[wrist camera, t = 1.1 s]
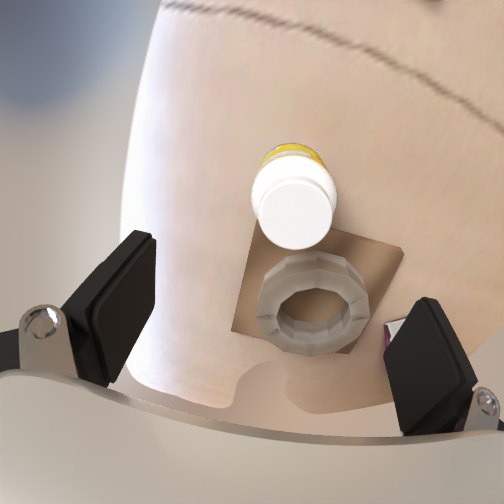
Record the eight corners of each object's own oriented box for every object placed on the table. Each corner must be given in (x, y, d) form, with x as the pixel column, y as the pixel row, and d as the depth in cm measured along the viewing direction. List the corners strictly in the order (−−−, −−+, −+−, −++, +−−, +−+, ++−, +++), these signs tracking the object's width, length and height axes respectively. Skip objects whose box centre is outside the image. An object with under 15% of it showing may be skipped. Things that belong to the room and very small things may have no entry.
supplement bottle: (325, 202, 25) (342, 261, 16) (262, 203, 26) (247, 262, 17) (324, 140, 22) (346, 167, 14) (257, 142, 23) (238, 170, 15)
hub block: (400, 247, 26) (414, 271, 22) (347, 347, 33) (351, 374, 29) (259, 210, 26) (253, 230, 22) (232, 323, 33) (225, 350, 29)
